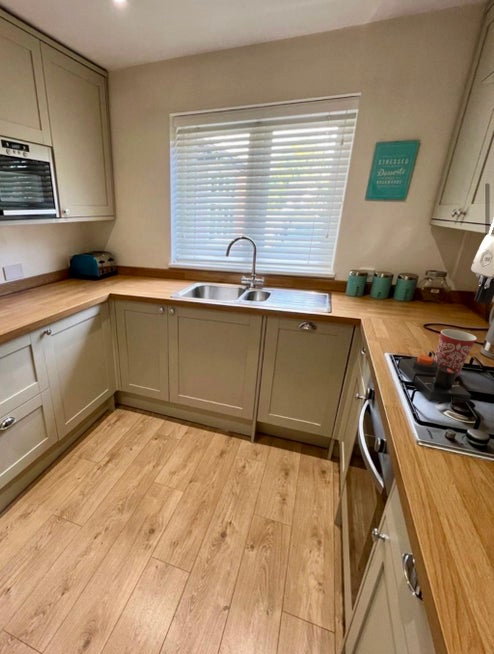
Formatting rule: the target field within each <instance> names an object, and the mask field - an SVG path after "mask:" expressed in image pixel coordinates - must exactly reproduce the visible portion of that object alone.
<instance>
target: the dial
mask: <svg viewBox="0 0 494 654" xmlns="http://www.w3.org/2000/svg"><path fill="white" fill-rule="evenodd" d="M456 375H457V370H455V369H453V368H451V367H447V366H439V367H438V370H437V372H436V375H435V378H434V381H433V383H434V384H435V385H436V386H438V387H441V388H445V389H450V388H452V386H453V383H454V381H455V380H456V378H457V377H456Z"/></svg>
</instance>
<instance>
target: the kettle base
mask: <svg viewBox="0 0 494 654" xmlns="http://www.w3.org/2000/svg"><path fill="white" fill-rule="evenodd" d="M417 359H418V356H413V357H412V358H400V361H399V364H398V368H399V369H400V371H402V372H403V373H404V375H405V376H406V377H407V379H409V380H410V381H411V382H412V383H414V380H415V377H416V376H423V377H435V375H436V372H437V370H438V363H437V362H435V361H434V360H433V363H432V365H425V364H421V363H419V362H417Z"/></svg>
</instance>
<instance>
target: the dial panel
mask: <svg viewBox="0 0 494 654" xmlns="http://www.w3.org/2000/svg"><path fill="white" fill-rule="evenodd" d="M434 378H435V377H423V376H416V377H415V380H414V382H412V383H413V384H412V385H413V386H414V387H415V388H416V389H417V390H418V391H419V392H420V394H421V395H423V397H424V398H425V399H426V400H427V401H428V402H430V401H431V402H437V403H448V404H449V403H450V404H452V403H451V397H459V398H464V399H466V400H468V403H469V402H470V400H471V397H472V394H471V393H470V392H468V391H467V390H466V388H464V387H462V386H461V385H460V384H459V383H458V382H456V381H455V380H454V383H453V386H452V388H450V389H445V388H441V387H438V386H436V385H435V384H434V383H433V381H434Z"/></svg>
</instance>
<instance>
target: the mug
mask: <svg viewBox="0 0 494 654" xmlns="http://www.w3.org/2000/svg"><path fill="white" fill-rule="evenodd" d="M477 340H478V337H477V336H476V335H474V334H472V333H469V332H467V331H463V330H457V329H441V330H440V335H439V339H438V342H437V347H436V351H435V354H434V358H433V359H434V360H433V361H435V362H437V363H438V367H439V366H447V367H451V368H453V369H455V370H457V375H456V378H457V377H459V375H460V374H461V372H462V369H463V367H464V365H465V363H466V361H467V359H468V357H469V355H470V353H471V350H472V348H473V346H474V345H475V342H476V341H477Z"/></svg>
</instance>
